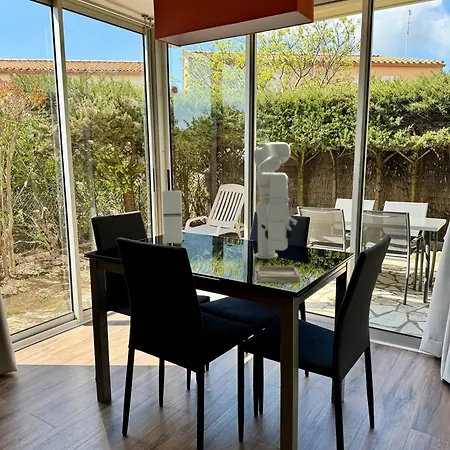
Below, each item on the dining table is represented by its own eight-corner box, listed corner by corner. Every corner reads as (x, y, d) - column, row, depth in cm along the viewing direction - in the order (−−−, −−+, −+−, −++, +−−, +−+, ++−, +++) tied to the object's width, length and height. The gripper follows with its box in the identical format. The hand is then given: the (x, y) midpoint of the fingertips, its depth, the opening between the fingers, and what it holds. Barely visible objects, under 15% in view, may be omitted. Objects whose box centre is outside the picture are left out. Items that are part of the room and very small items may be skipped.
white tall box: (182, 243, 276) (181, 190, 271) (182, 246, 266) (180, 191, 261) (165, 243, 275) (163, 190, 270) (164, 246, 265) (162, 191, 260)
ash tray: (257, 271, 200) (257, 266, 200) (294, 271, 200) (295, 266, 199) (258, 281, 183) (258, 276, 182) (299, 282, 182) (299, 276, 181)
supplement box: (288, 247, 191) (288, 220, 189) (283, 250, 185) (283, 222, 183) (272, 246, 194) (272, 219, 192) (267, 249, 188) (267, 221, 186)
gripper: (296, 200, 189) (296, 237, 192) (258, 200, 190) (258, 237, 193) (298, 201, 182) (298, 240, 184) (258, 202, 183) (258, 240, 185)
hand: (277, 238), depth 189 cm, fingers closed on supplement box, 9 cm apart
